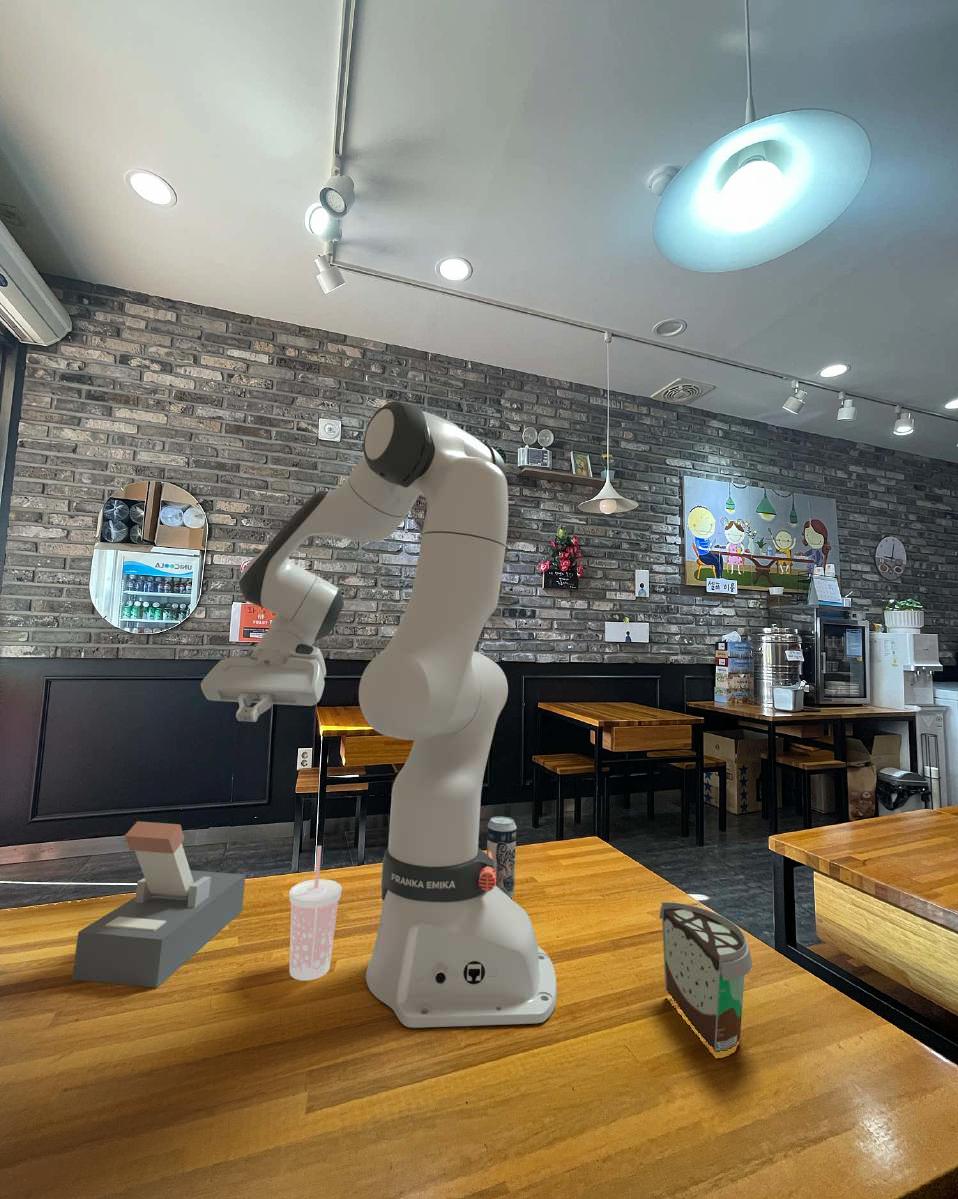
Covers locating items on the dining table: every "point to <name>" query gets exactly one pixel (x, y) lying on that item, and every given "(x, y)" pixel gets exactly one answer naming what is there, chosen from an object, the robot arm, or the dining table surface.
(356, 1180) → the dining table surface
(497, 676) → the robot arm
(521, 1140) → the dining table surface
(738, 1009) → the food container
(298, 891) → the beverage cup
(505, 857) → the beer can
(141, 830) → the lever
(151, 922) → the switch panel
